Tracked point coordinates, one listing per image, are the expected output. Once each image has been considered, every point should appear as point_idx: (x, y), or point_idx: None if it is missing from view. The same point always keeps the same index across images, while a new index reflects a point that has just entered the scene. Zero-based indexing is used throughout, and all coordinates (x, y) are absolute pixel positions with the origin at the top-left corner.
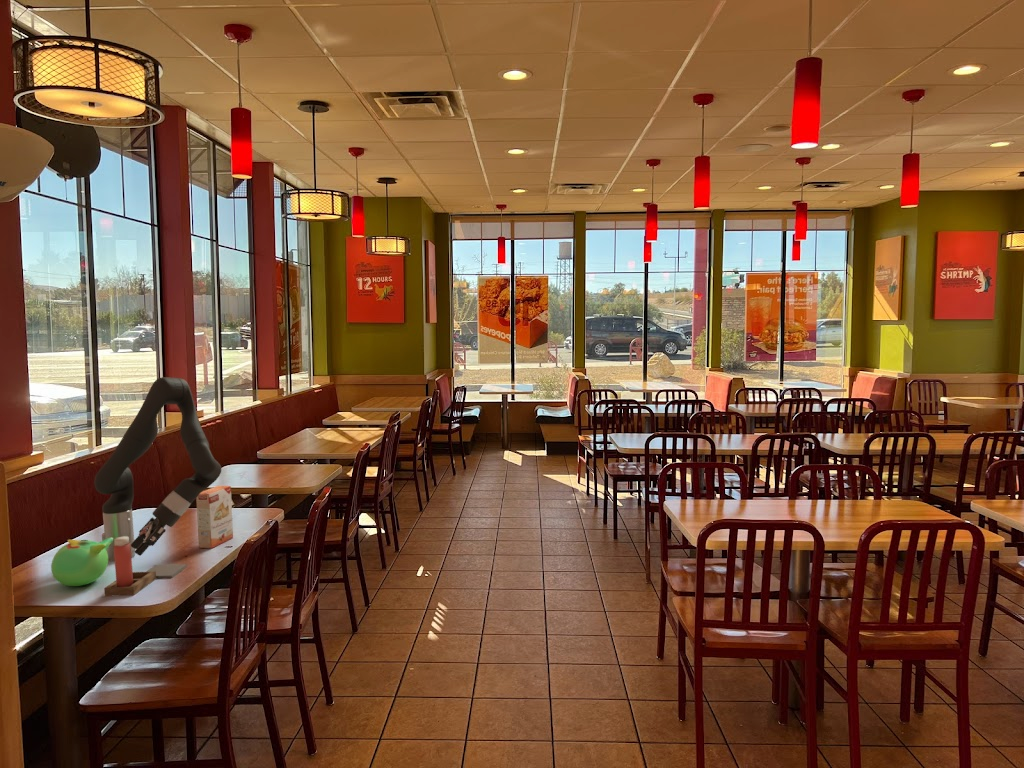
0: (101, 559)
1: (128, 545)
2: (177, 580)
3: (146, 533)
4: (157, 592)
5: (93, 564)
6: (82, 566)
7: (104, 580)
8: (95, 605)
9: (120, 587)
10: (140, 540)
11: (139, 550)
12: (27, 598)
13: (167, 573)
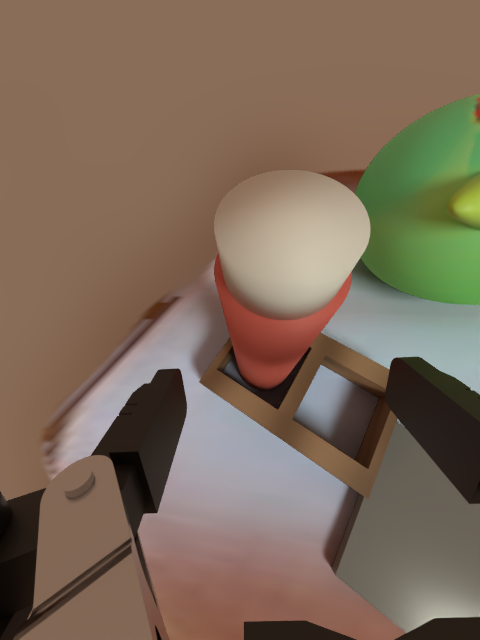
0: (431, 256)
1: (234, 313)
2: (277, 586)
3: (119, 604)
4: (175, 466)
5: (384, 236)
6: (365, 205)
7: (420, 315)
8: (191, 288)
9: (227, 342)
10: (451, 450)
11: (130, 402)
12: (347, 176)
13: (380, 556)
